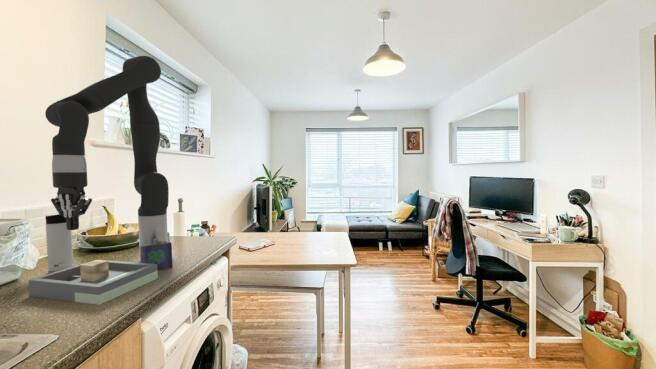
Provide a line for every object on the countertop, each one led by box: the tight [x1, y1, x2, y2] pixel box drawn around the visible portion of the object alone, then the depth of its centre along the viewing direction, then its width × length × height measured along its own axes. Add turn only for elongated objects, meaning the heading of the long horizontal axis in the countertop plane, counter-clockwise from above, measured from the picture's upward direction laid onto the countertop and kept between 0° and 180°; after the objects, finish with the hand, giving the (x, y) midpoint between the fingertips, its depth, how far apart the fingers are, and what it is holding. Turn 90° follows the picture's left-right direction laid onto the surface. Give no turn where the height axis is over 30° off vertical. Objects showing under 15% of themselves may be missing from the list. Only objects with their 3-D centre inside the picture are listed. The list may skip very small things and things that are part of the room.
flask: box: [139, 238, 173, 271], centre depth 97 cm, size 9×3×11 cm, turn 121°
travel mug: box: [45, 213, 75, 274], centre depth 96 cm, size 6×7×20 cm
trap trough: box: [27, 259, 159, 306], centre depth 82 cm, size 18×24×4 cm
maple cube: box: [79, 259, 109, 281], centre depth 82 cm, size 4×4×4 cm
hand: (72, 229), depth 84 cm, fingers closed
